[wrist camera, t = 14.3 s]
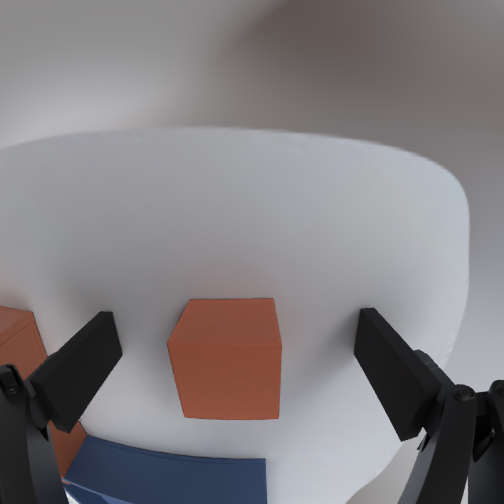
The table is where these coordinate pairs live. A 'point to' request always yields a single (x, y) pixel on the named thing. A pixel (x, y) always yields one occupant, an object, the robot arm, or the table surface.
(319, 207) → the table surface
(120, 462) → the blue bin
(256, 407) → the terracotta block
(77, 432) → the terracotta bin
